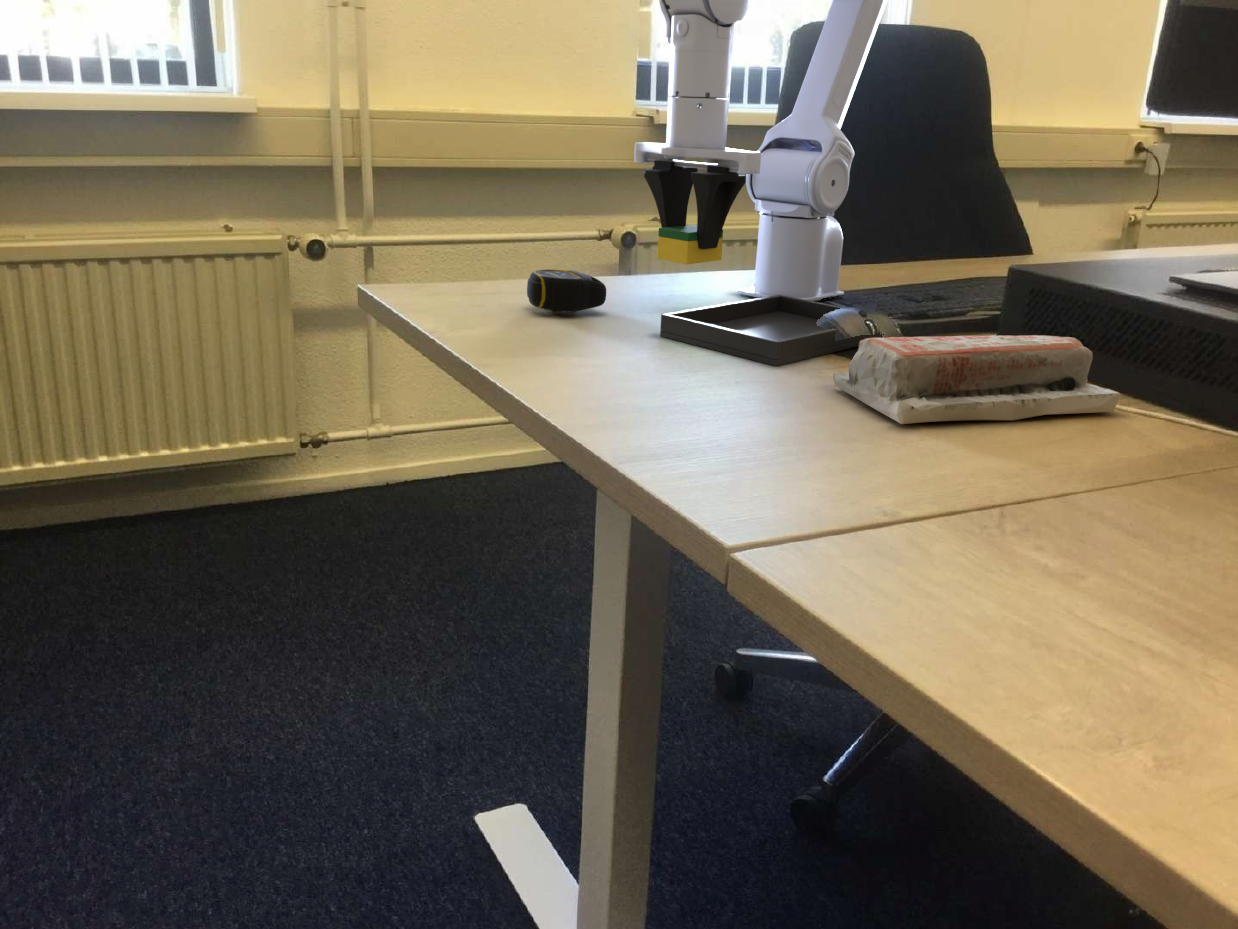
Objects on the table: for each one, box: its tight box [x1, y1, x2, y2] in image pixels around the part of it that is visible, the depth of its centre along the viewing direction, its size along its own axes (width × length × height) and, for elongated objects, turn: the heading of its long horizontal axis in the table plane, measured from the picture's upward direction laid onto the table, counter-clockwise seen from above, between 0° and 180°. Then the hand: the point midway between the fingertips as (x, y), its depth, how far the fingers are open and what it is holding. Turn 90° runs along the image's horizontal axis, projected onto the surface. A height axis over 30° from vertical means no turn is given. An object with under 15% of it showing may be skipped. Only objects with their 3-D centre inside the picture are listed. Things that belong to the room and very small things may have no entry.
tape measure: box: [526, 268, 607, 315], centre depth 102 cm, size 7×7×4 cm
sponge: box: [656, 224, 724, 266], centre depth 102 cm, size 5×4×3 cm
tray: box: [659, 295, 894, 367], centre depth 95 cm, size 17×13×2 cm
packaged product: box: [831, 334, 1122, 425], centre depth 76 cm, size 18×5×10 cm
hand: (690, 244), depth 102 cm, fingers closed on sponge, 4 cm apart
